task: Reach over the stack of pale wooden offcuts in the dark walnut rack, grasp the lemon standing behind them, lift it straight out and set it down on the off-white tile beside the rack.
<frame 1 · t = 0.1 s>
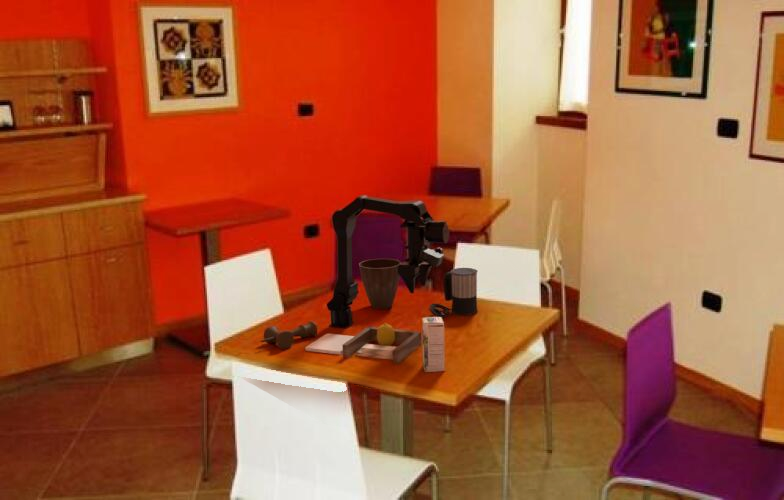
hand: (417, 289, 258), 15 cm above the table, tool pointing down, fingers open, 9 cm apart
kendama: (288, 343, 257), on the table
plant pot: (381, 306, 292), on the table
lemon: (386, 348, 248), resting in walnut rack
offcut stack: (377, 356, 242), on the table
walnut rack: (383, 350, 246), on the table
syrup box: (434, 369, 230), on the table
milk frother: (454, 314, 280), on the table
tile: (333, 345, 253), on the table
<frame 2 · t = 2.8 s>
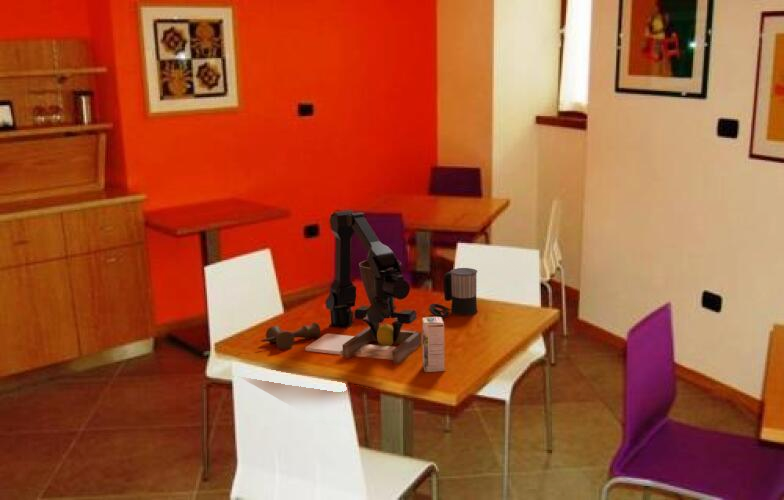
hand: (386, 341, 248), 2 cm above the table, tool pointing down, fingers closed on lemon, 5 cm apart
lemon: (386, 348, 248), resting in walnut rack, touching gripper
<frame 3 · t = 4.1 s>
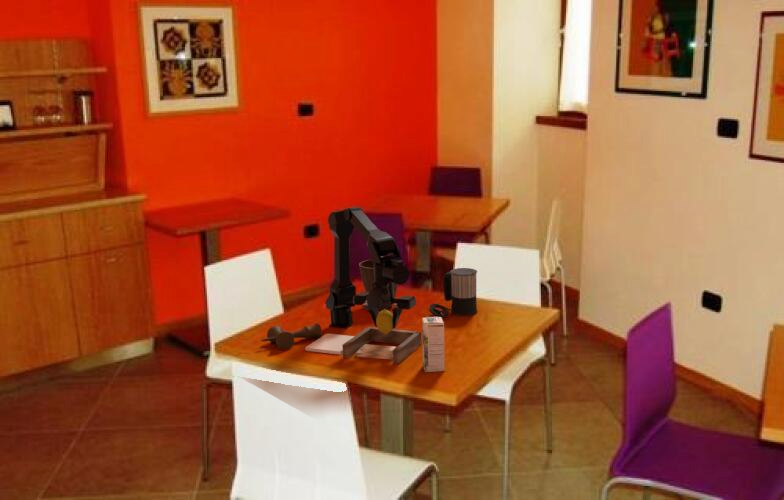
hand: (385, 327, 247), 7 cm above the table, tool pointing down, fingers closed on lemon, 5 cm apart
lemon: (385, 334, 247), point 4 cm above the table, touching gripper
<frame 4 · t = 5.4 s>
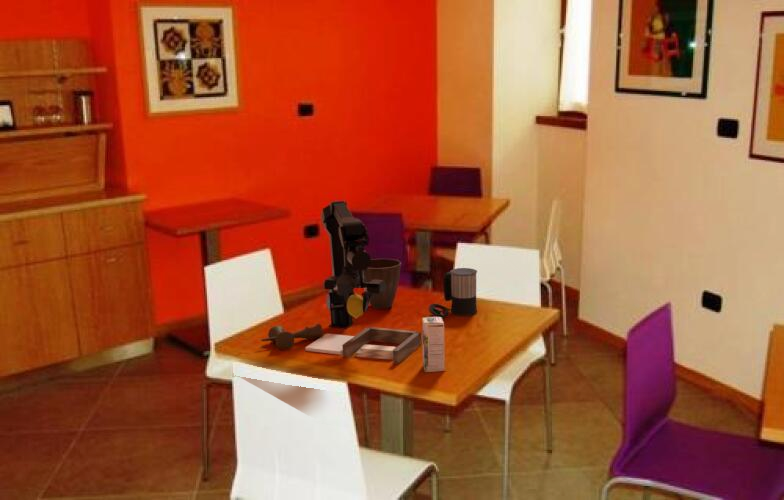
hand: (355, 311, 248), 11 cm above the table, tool pointing down, fingers closed on lemon, 5 cm apart
lemon: (356, 319, 249), point 9 cm above the table, touching gripper
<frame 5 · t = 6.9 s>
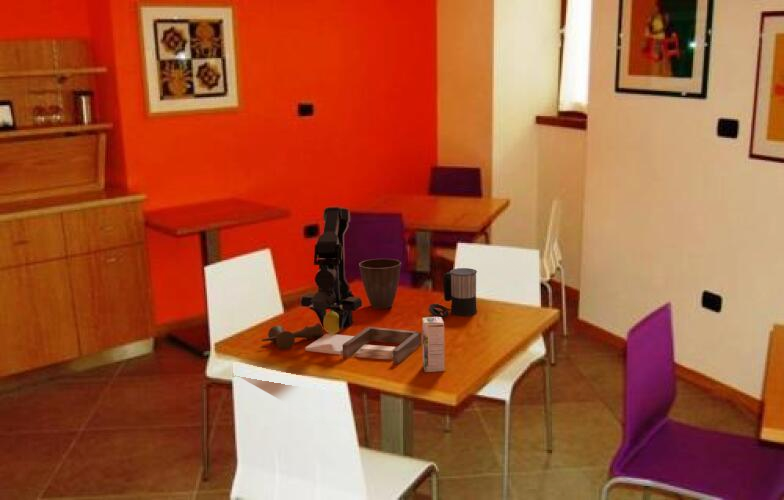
hand: (332, 328, 252), 5 cm above the table, tool pointing down, fingers closed on lemon, 5 cm apart
lemon: (332, 335, 252), point 3 cm above the table, touching gripper
when the fingers open (4 cm above the table, at t = 8.0 s): lemon stays where it is, resting on tile.
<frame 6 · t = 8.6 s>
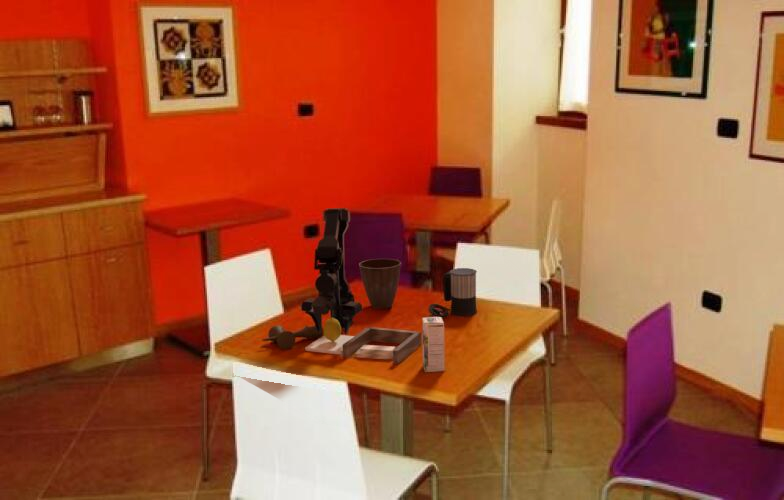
hand: (332, 332, 252), 4 cm above the table, tool pointing down, fingers open, 9 cm apart
lemon: (333, 342, 253), point 1 cm above the table, touching tile
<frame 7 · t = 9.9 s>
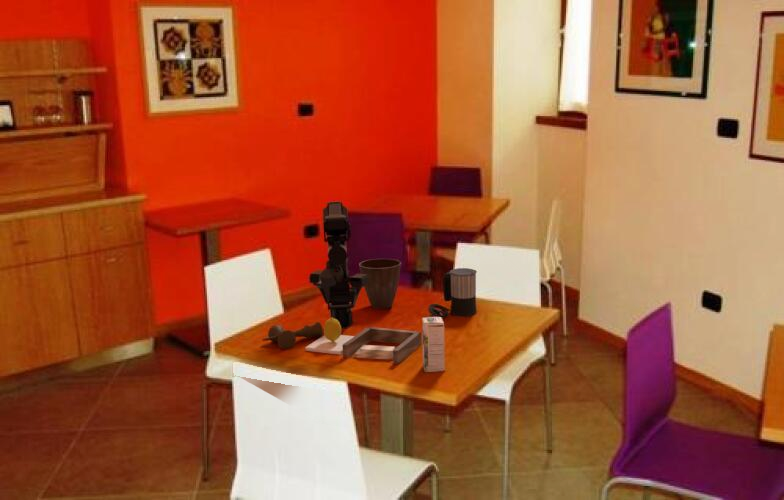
hand: (340, 304, 254), 12 cm above the table, tool pointing down, fingers open, 9 cm apart
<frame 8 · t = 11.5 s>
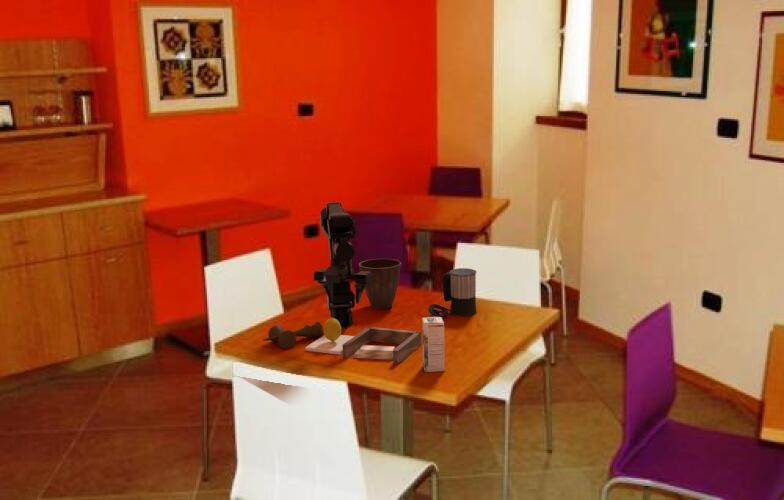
hand: (344, 302, 256), 12 cm above the table, tool pointing down, fingers open, 9 cm apart
at the end: lemon inside the target area on the tile (0.1 cm from its centre), point 0.8 cm above the tile's base; the gripper is holding nothing; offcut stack moved 1.0 cm from its start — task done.
